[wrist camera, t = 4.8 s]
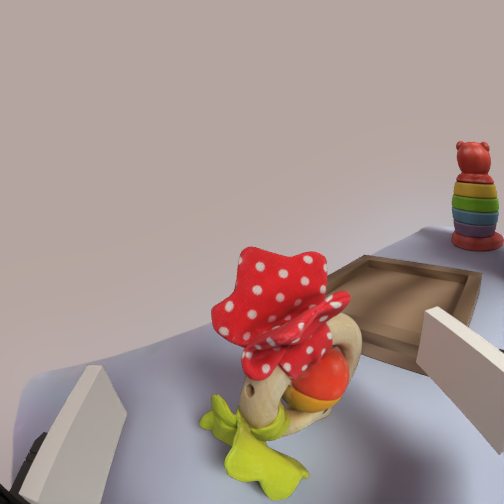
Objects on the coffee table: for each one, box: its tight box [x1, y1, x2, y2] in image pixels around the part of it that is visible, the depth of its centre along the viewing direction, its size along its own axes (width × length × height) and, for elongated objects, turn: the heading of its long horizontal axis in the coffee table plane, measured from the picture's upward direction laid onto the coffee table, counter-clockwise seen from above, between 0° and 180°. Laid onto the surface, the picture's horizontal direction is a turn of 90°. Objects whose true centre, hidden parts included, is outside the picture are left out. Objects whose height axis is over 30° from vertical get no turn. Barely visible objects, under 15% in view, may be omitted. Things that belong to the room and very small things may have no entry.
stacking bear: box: [452, 141, 504, 251], centre depth 36 cm, size 11×10×18 cm
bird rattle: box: [199, 247, 362, 500], centre depth 12 cm, size 6×11×9 cm
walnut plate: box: [325, 255, 482, 376], centre depth 24 cm, size 16×16×2 cm
